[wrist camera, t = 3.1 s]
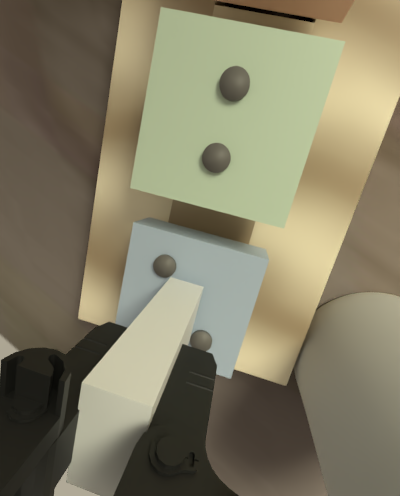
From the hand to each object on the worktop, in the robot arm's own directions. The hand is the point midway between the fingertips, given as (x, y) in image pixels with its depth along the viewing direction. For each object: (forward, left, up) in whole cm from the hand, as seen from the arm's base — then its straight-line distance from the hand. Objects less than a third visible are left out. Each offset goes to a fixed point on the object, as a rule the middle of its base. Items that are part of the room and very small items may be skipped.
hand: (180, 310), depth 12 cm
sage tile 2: (-8, 0, -4) cm, 8 cm away
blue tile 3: (0, 0, -5) cm, 5 cm away
